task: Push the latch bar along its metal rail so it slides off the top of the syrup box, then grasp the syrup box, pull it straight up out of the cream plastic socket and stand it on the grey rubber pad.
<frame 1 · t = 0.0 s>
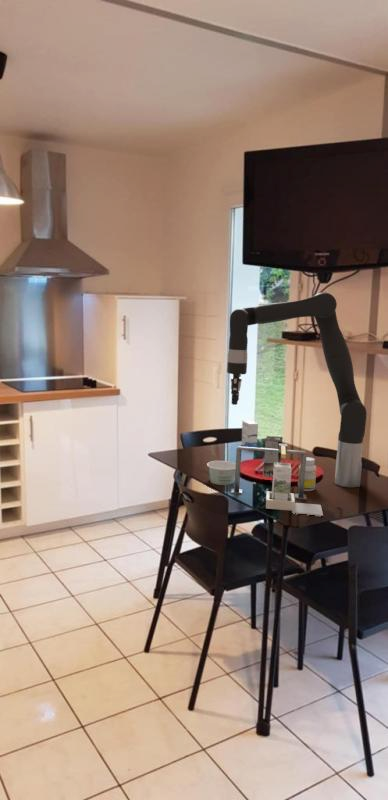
hand: (235, 402, 238), 29 cm above the table, fingers open, 8 cm apart
latch rail: (268, 494, 221), on the table
ink box: (248, 446, 292), on the table
pill bottle: (306, 489, 230), on the table
pad: (306, 510, 207), on the table
food container: (221, 481, 235), on the table
latch: (283, 451, 212), point 18 cm above the table, slide at 0.0 cm
socket: (279, 504, 211), on the table
syrup box: (279, 505, 211), resting in socket
coffee box: (271, 478, 242), on the table
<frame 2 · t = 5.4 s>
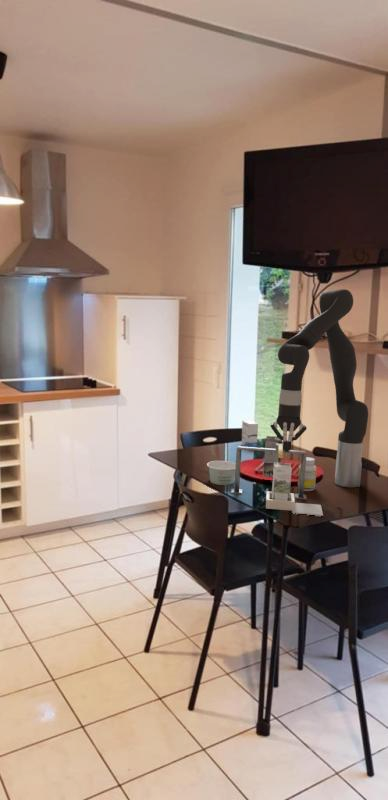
hand: (286, 451, 214), 18 cm above the table, fingers closed
latch: (280, 450, 212), point 18 cm above the table, slide at 1.0 cm, touching gripper
everything else where it was.
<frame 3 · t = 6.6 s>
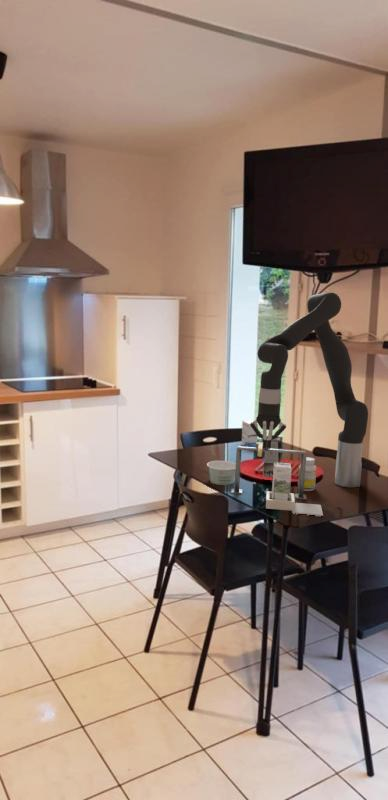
hand: (266, 449, 214), 18 cm above the table, fingers closed
latch: (260, 449, 213), point 18 cm above the table, slide at 7.9 cm, touching gripper
everything else where it was.
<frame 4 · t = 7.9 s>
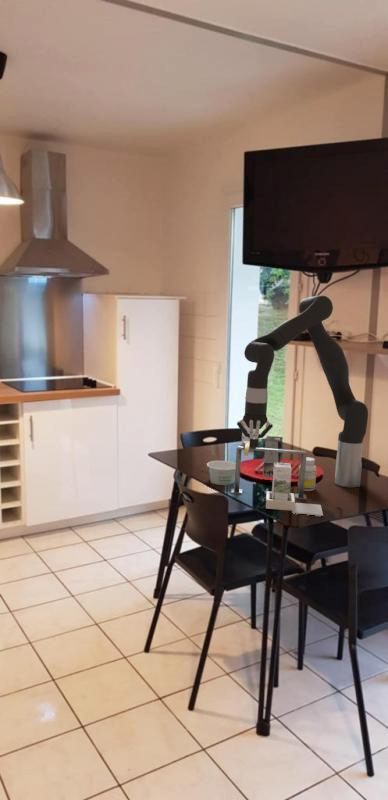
hand: (253, 448, 215), 18 cm above the table, fingers closed
latch: (247, 448, 213), point 18 cm above the table, slide at 12.5 cm, touching gripper
everything else where it was.
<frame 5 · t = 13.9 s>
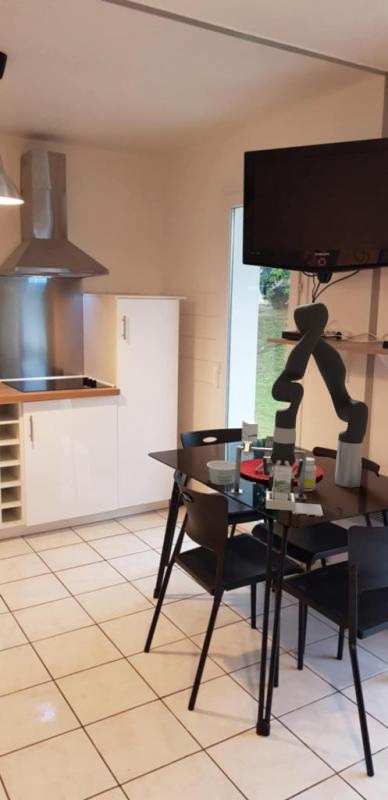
hand: (280, 487, 210), 6 cm above the table, fingers closed on syrup box, 6 cm apart
latch: (246, 448, 213), point 18 cm above the table, slide at 12.5 cm
syrup box: (279, 505, 211), resting in socket, touching gripper
everything else where it was.
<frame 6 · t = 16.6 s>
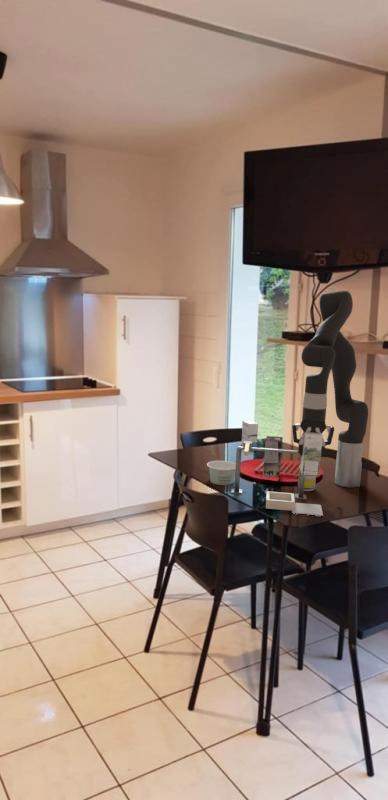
hand: (310, 455, 204), 19 cm above the table, fingers closed on syrup box, 6 cm apart
syrup box: (309, 474, 205), point 12 cm above the table, touching gripper
everything else where it was.
when the fingers open (8 cm above the table, at t = 19.4 s): syrup box drops 1 cm, resting on pad.
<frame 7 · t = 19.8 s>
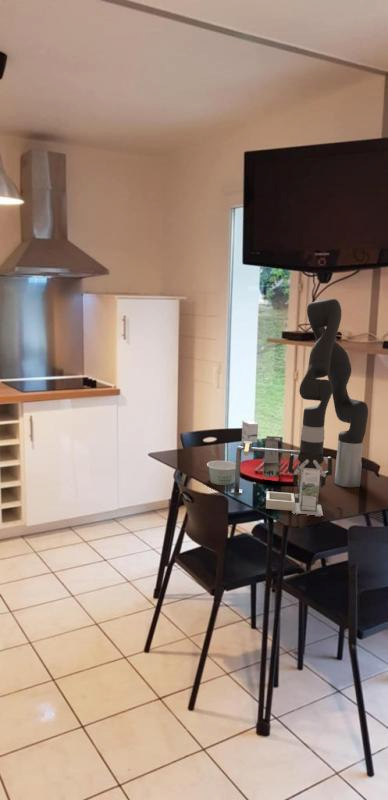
hand: (308, 485, 206), 9 cm above the table, fingers open, 8 cm apart
syrup box: (307, 509, 207), resting on pad
everything else where it was.
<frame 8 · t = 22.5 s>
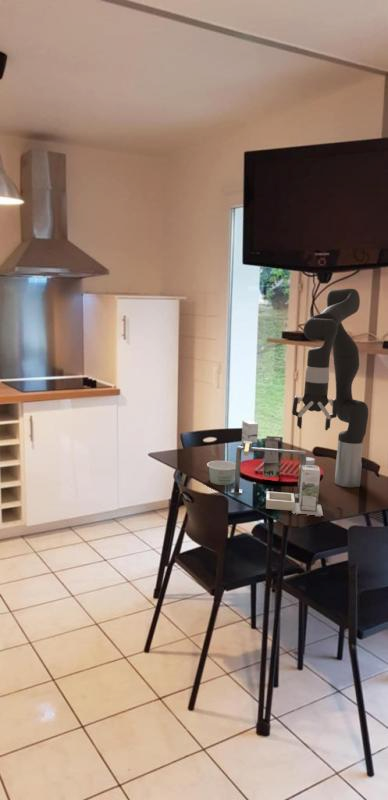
hand: (313, 429, 202), 28 cm above the table, fingers open, 8 cm apart
nothing on the table moved.
at the end: latch slide at 12.5 cm; syrup box inside the target area on the pad (0.3 cm from its centre), point 0.4 cm above the pad's base; syrup box tilted 0° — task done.
